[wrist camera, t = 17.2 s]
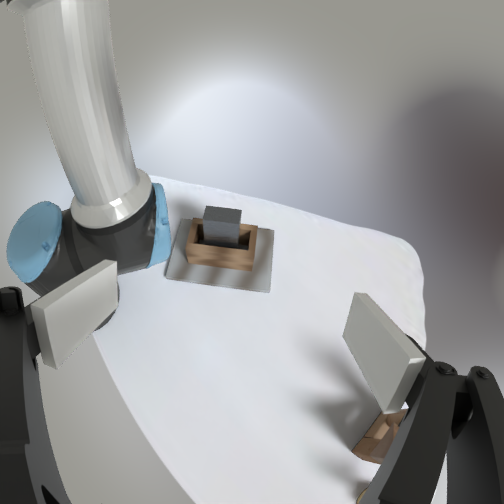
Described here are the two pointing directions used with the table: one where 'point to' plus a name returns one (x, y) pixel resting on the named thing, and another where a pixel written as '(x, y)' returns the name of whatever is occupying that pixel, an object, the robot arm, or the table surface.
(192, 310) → the table surface
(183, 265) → the post slot
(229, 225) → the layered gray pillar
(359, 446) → the wooden angular frame
